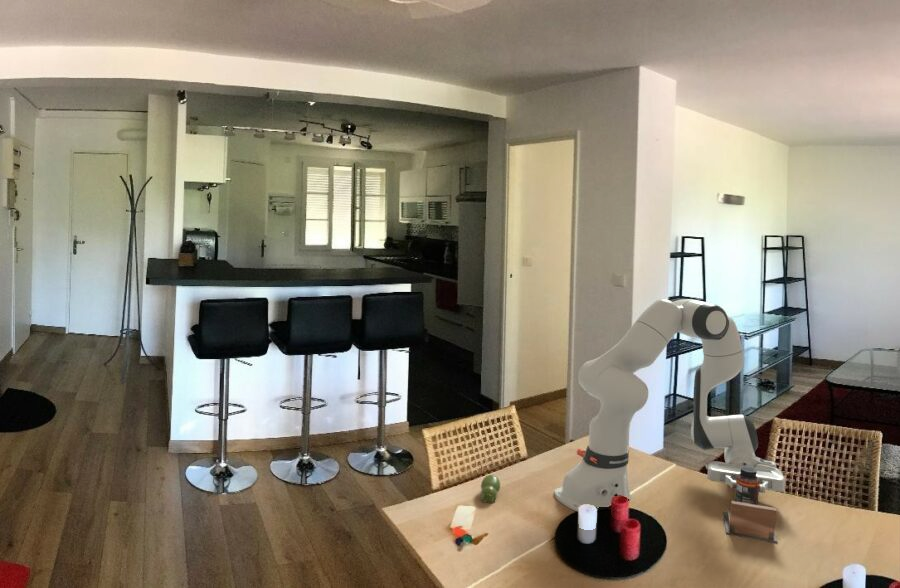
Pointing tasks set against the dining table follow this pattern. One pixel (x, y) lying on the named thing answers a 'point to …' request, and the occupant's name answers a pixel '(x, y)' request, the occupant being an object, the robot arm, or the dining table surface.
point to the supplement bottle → (747, 486)
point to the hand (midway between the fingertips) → (747, 487)
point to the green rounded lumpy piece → (489, 488)
